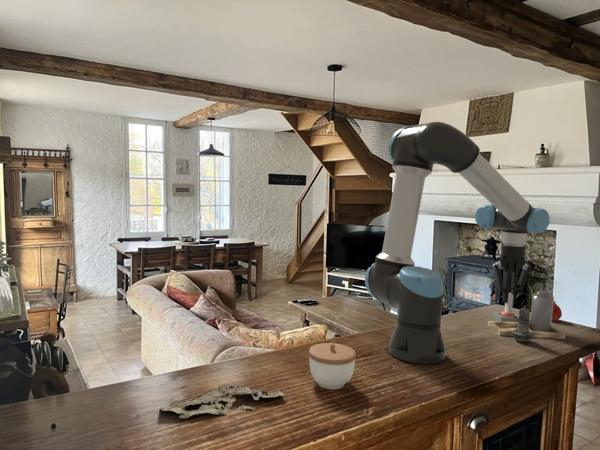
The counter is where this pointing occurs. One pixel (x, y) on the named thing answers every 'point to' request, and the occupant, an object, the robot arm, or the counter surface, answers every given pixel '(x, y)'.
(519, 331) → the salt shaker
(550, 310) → the pepper pot
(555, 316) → the onion
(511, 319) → the grey-green square box
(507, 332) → the tray
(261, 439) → the counter surface
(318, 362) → the lidded jar
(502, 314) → the button
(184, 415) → the driftwood
